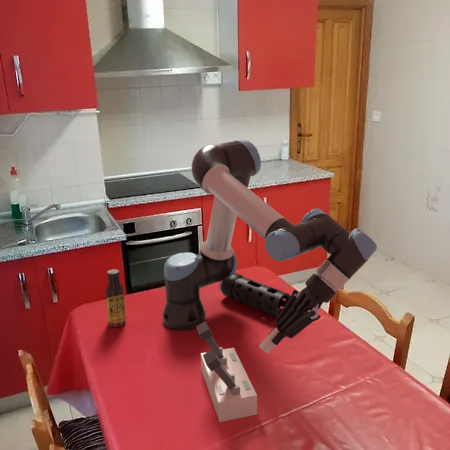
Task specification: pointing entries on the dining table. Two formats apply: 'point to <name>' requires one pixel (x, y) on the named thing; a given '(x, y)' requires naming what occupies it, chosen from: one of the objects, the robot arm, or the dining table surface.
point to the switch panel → (236, 397)
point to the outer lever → (218, 368)
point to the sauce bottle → (115, 300)
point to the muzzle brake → (254, 294)
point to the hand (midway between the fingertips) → (263, 349)
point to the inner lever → (208, 338)
